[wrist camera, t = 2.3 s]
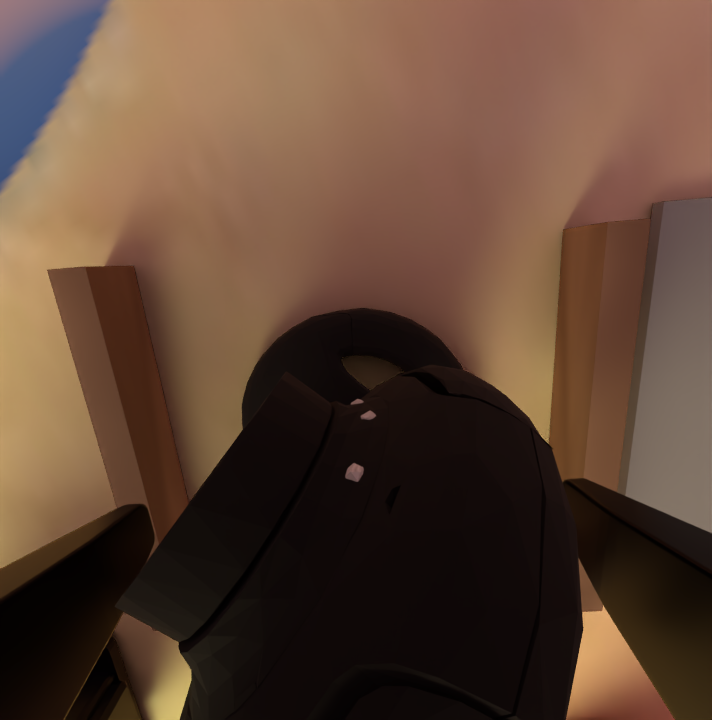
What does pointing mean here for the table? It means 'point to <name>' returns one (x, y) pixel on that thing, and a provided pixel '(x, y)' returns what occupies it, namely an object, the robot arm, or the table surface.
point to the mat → (673, 369)
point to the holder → (570, 382)
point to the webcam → (372, 545)
